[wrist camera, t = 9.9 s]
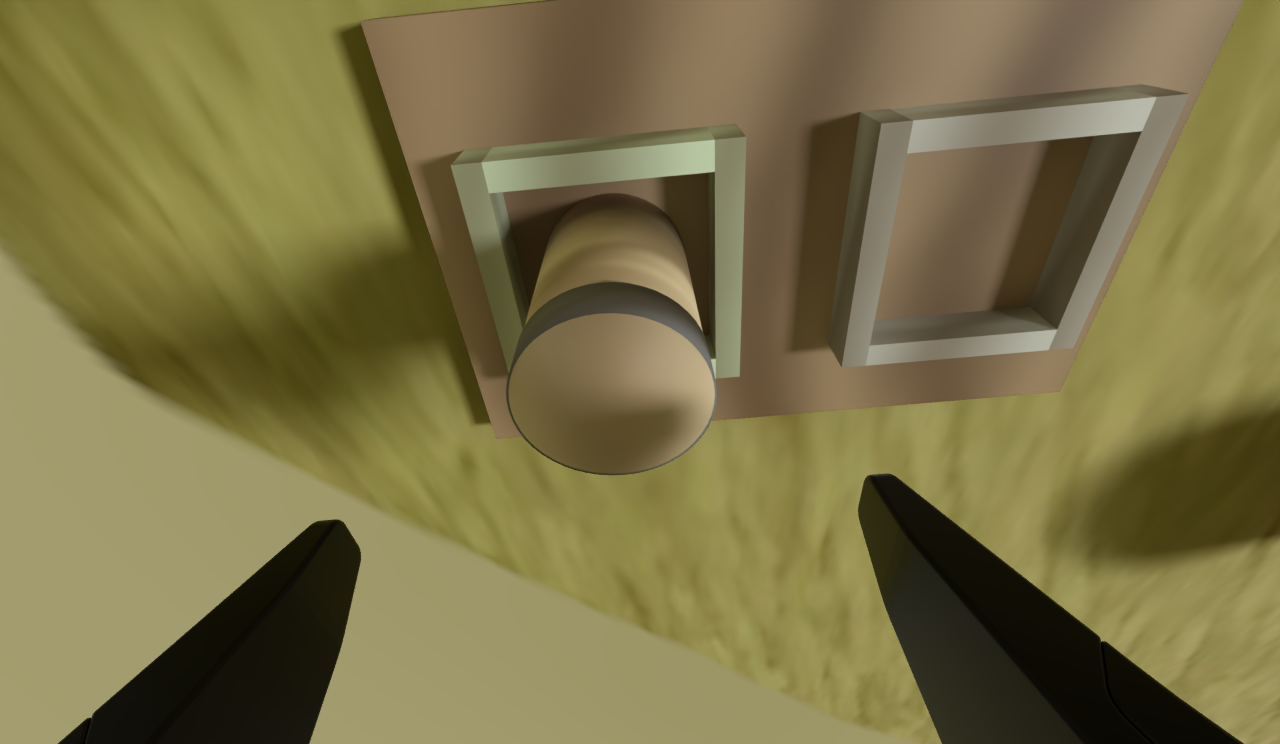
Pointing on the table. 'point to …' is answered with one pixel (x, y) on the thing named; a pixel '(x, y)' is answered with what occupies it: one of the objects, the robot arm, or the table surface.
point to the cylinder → (612, 344)
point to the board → (808, 173)
